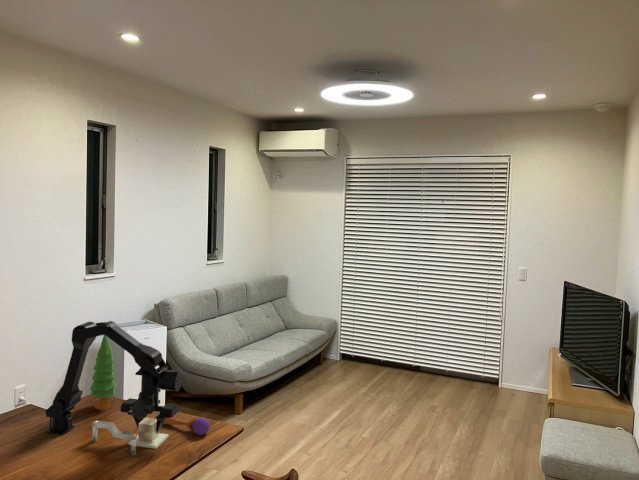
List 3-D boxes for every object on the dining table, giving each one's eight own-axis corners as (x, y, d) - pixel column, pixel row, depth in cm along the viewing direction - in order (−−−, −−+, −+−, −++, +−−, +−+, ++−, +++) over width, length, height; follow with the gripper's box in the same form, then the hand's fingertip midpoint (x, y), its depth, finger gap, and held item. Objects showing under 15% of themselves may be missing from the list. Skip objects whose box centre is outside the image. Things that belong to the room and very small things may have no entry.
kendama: (169, 410, 191) (213, 417, 183) (168, 426, 190) (212, 434, 182) (158, 412, 185) (203, 420, 177) (157, 429, 185) (202, 438, 177)
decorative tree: (98, 413, 193) (99, 336, 191) (84, 407, 198) (85, 331, 196) (120, 405, 201) (122, 331, 199) (106, 399, 207) (107, 327, 204)
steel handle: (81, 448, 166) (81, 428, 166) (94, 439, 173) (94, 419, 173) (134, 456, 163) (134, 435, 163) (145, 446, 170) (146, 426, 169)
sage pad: (128, 444, 170) (128, 442, 170) (142, 432, 179) (142, 430, 179) (155, 448, 169) (155, 446, 169) (168, 436, 178) (168, 434, 178)
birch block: (138, 440, 172) (138, 423, 172) (145, 434, 177) (146, 417, 176) (151, 442, 171) (152, 425, 171) (159, 435, 176) (159, 419, 176)
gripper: (111, 393, 166) (110, 439, 167) (164, 399, 163) (163, 446, 164) (129, 381, 177) (128, 424, 178) (179, 387, 174) (178, 431, 175)
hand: (148, 432), depth 174 cm, fingers open, 6 cm apart
